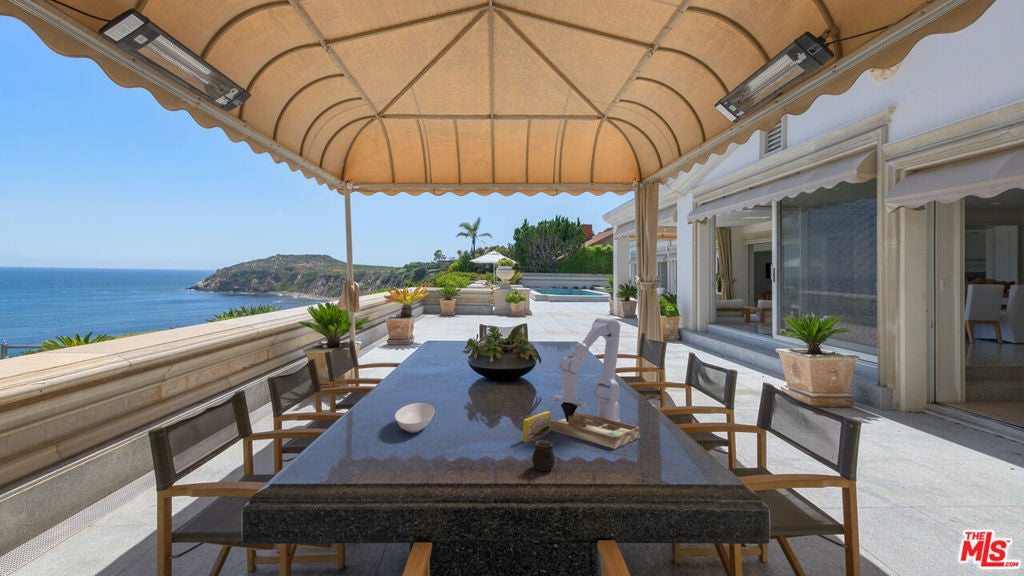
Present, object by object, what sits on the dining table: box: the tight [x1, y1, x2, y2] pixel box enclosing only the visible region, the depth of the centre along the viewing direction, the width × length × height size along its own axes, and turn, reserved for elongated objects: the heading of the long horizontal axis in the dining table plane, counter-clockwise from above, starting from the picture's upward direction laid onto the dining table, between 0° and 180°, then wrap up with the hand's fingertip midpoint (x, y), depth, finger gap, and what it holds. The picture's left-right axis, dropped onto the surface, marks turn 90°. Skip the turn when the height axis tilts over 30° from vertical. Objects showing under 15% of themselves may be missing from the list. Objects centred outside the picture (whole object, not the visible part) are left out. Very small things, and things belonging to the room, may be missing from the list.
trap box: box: [550, 411, 641, 450], centre depth 181 cm, size 18×30×4 cm, turn 46°
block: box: [568, 413, 586, 428], centre depth 182 cm, size 5×5×4 cm
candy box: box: [521, 410, 551, 443], centre depth 176 cm, size 16×2×8 cm, turn 143°
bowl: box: [394, 402, 435, 434], centre depth 185 cm, size 30×15×6 cm, turn 4°
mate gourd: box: [531, 440, 556, 472], centre depth 145 cm, size 7×8×10 cm
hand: (569, 421), depth 184 cm, fingers closed
